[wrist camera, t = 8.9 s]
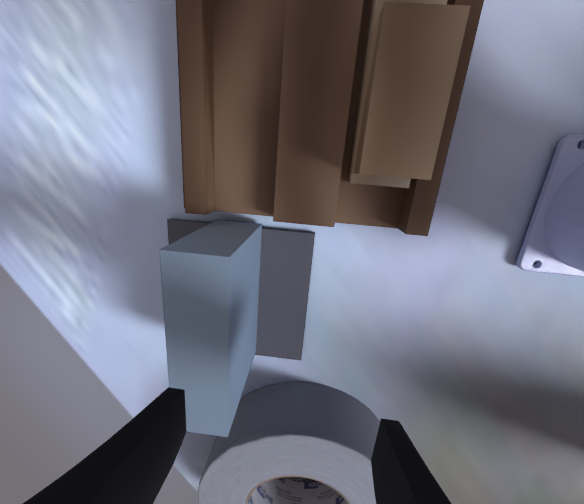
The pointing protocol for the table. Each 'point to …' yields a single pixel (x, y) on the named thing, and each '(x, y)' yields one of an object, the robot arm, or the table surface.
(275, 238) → the mat
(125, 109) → the table surface
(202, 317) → the blue-grey rectangular block
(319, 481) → the tape roll
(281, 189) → the rack
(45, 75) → the table surface
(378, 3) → the block
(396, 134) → the offcut short
